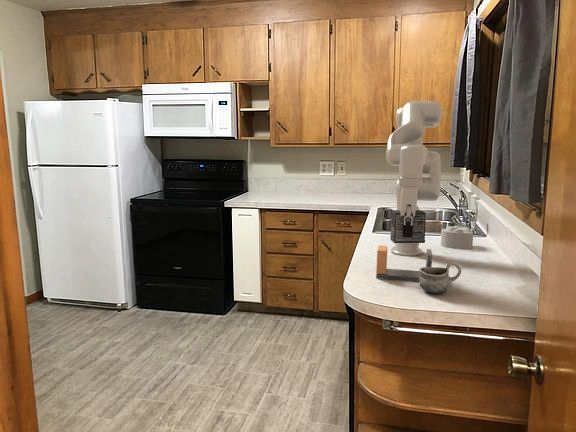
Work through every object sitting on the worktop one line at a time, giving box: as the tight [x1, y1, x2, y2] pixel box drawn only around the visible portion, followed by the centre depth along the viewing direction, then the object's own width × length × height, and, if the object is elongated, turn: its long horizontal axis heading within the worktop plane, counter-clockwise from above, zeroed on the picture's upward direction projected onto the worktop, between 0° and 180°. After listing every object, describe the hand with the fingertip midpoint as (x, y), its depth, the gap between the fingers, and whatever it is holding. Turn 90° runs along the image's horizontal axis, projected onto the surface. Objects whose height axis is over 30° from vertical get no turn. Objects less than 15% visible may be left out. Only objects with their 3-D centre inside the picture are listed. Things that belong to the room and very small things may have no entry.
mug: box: [418, 261, 462, 294], centre depth 150 cm, size 10×12×10 cm
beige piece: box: [440, 225, 474, 250], centre depth 212 cm, size 10×13×9 cm
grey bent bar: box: [375, 248, 433, 283], centre depth 165 cm, size 8×18×10 cm, turn 76°
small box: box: [390, 209, 427, 244], centre depth 163 cm, size 11×6×10 cm, turn 91°
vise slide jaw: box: [376, 245, 388, 274], centre depth 167 cm, size 8×3×8 cm, turn 166°
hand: (407, 234), depth 163 cm, fingers closed on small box, 7 cm apart
